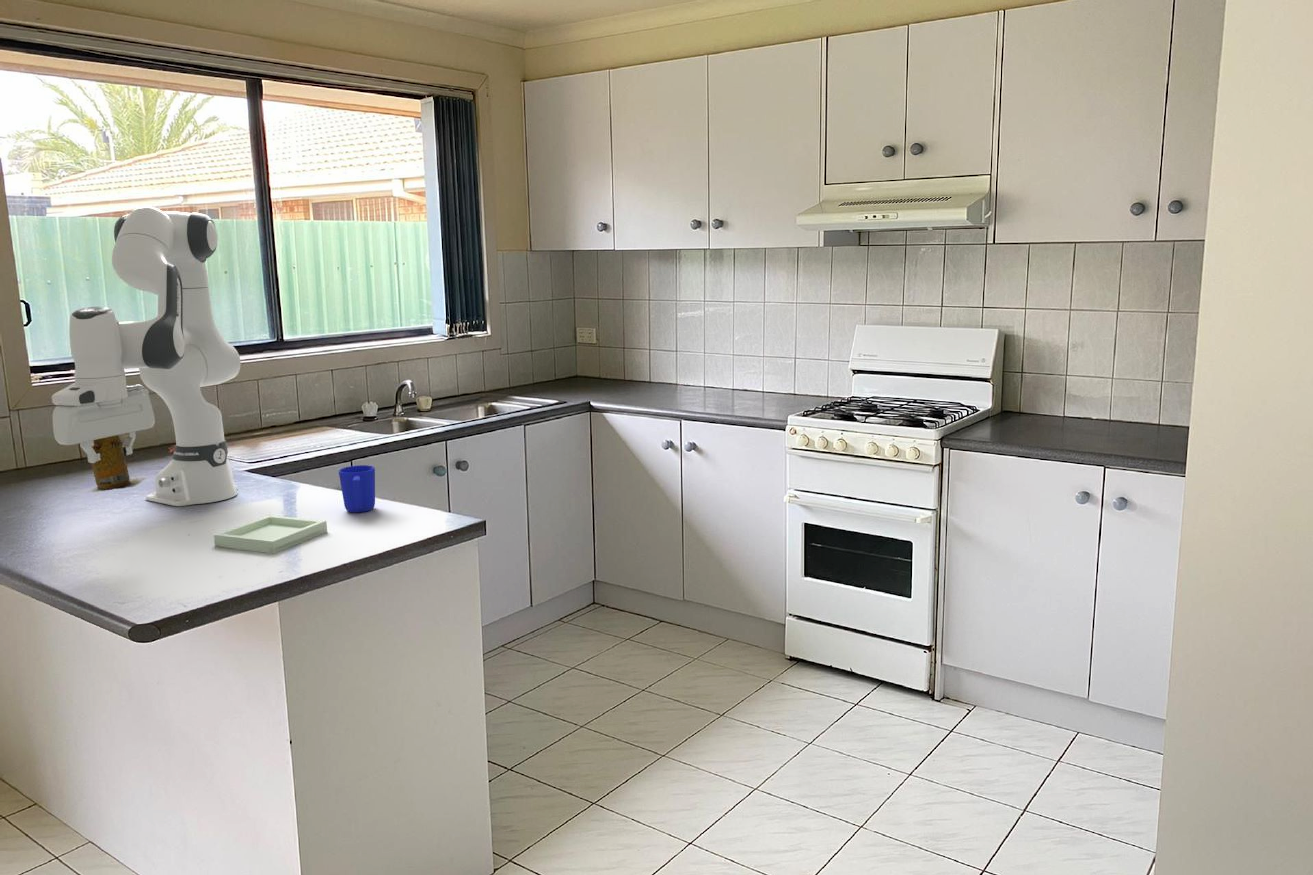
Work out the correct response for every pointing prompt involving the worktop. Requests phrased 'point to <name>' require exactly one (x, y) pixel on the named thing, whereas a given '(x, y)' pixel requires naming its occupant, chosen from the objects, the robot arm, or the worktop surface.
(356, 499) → the mug
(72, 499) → the worktop surface
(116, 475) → the condiment
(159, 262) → the robot arm
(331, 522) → the worktop surface
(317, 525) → the tray
